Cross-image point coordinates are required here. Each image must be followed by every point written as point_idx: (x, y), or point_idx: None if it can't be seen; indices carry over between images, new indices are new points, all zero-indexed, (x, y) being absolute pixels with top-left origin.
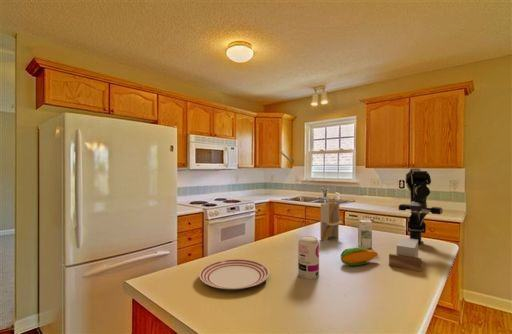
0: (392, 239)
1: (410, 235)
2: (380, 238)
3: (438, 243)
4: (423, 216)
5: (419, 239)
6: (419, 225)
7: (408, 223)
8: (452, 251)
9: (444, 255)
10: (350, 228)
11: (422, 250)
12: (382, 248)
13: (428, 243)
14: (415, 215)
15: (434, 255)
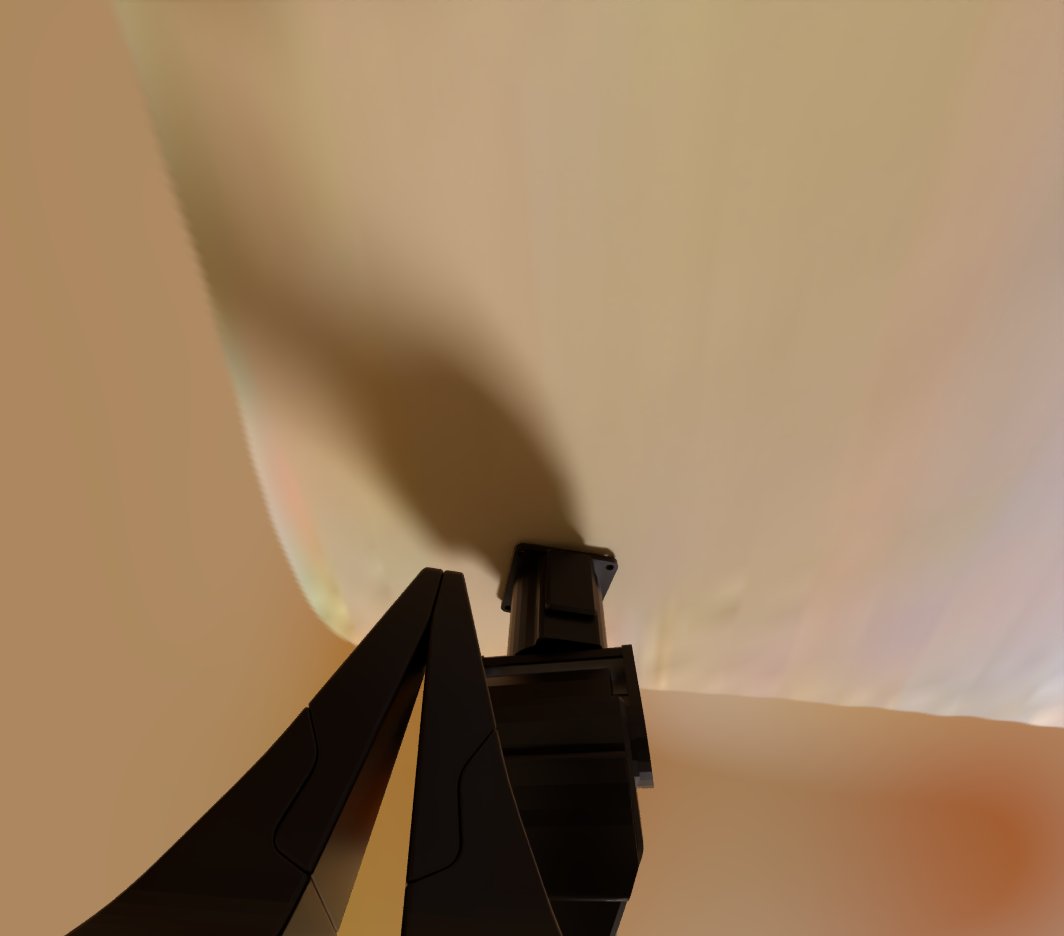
0: (737, 582)
1: (599, 620)
2: (846, 569)
3: None
4: (145, 881)
5: (522, 592)
6: (444, 573)
7: (640, 739)
8: (261, 482)
9: (258, 313)
10: (1037, 704)
11: (477, 380)
12: (956, 189)
13: None
14: (507, 917)
15: (332, 246)
